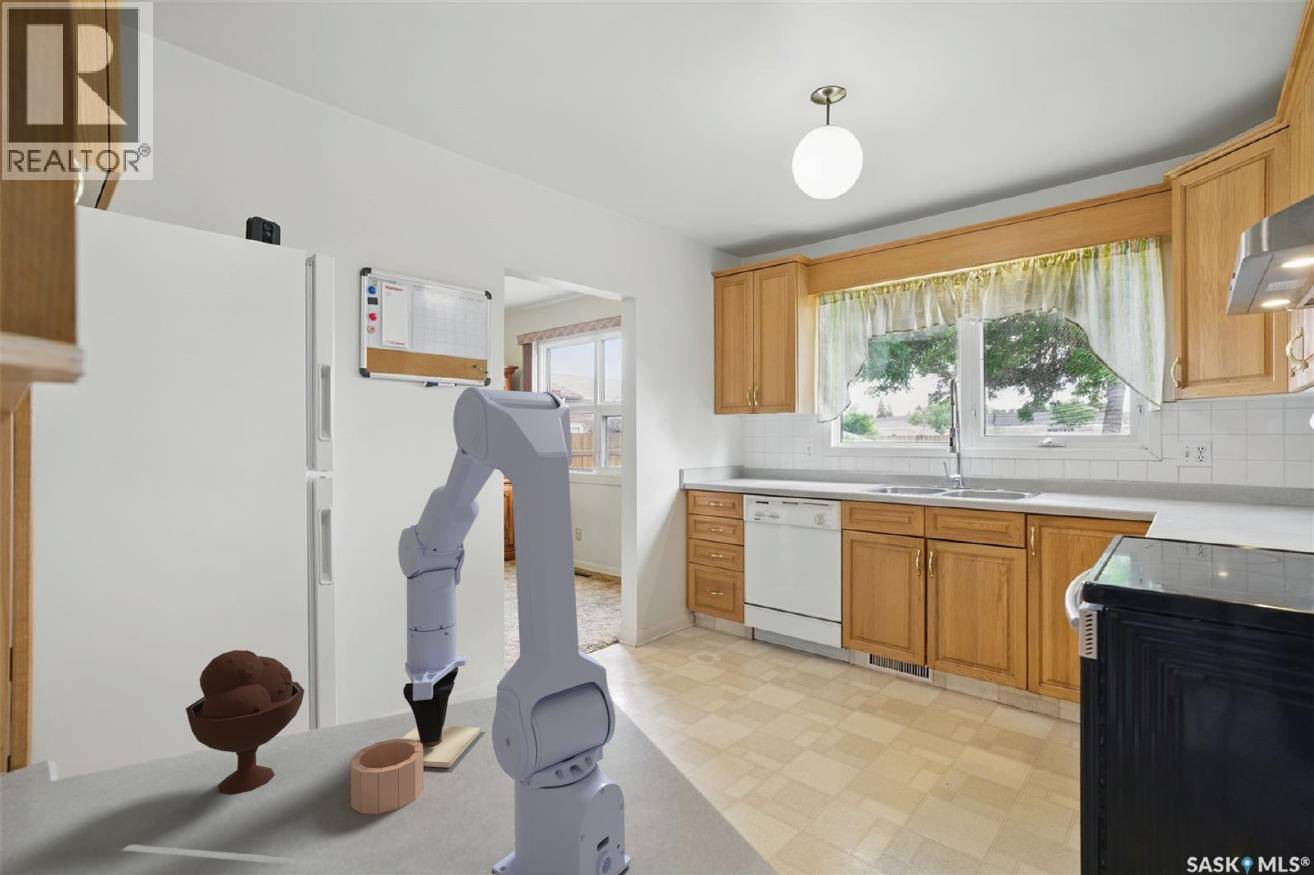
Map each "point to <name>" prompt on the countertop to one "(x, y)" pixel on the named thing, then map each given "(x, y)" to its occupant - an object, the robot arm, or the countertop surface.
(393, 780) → the bowl
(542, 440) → the robot arm
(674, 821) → the countertop surface
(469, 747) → the mat
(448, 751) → the cover
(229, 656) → the ice cream bowl
